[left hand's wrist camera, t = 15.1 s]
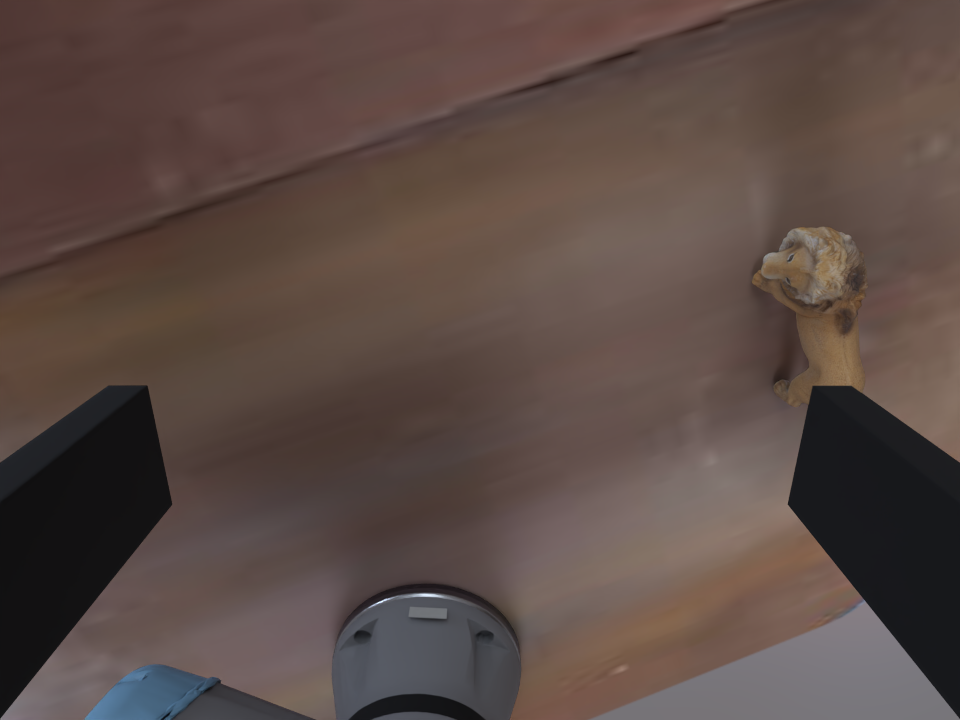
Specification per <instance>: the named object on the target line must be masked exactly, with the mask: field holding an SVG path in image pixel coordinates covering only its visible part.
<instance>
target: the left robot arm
mask: <svg viewBox="0 0 960 720" xmlns="http://www.w3.org/2000/svg"><path fill="white" fill-rule="evenodd" d="M171 505H172V501H171V496H170V491H169V486H168V482H167V477H166V472H165V467H164V462H163V458H162V453H161V448H160V443H159V439H158V434H157V429H156V424H155V419H154V415H153V410H152V405H151V400H150V395H149V391H148V386H107V387H106V388H105V389H103V390H102V391H100V392H99V393H98V394H96V395H95V396H93V397H92V398H91V399H89V400H88V401H86V402H85V403H84V404H82V405H81V406H79V407H78V408H76V409H75V410H74V411H72V412H71V413H69V414H68V415H67V416H65V417H64V418H62V419H61V420H60V421H58V422H57V423H55V424H54V425H53V426H51V427H50V428H48V429H47V430H46V431H44V432H43V433H41V434H40V435H39V436H37V437H36V438H34V439H33V440H32V441H30V442H29V443H27V444H26V445H25V446H23V447H22V448H20V449H19V450H17V451H16V452H15V453H13V454H12V455H10V456H9V457H8V458H6V459H5V460H3V461H2V462H1V463H0V718H1V717H2V716H3V715H4V713H5V712H6V711H7V710H8V708H9V707H10V706H11V705H12V703H13V702H14V701H15V700H16V698H17V697H18V696H19V695H20V693H21V692H22V691H23V690H24V688H25V687H26V686H27V685H28V683H29V682H30V681H31V680H32V678H33V677H34V676H35V675H36V673H37V672H38V671H39V670H40V668H41V667H42V666H43V665H44V663H45V662H46V661H47V660H48V658H49V657H50V656H51V655H52V653H53V652H54V651H55V650H56V649H57V647H58V646H59V645H60V644H61V642H62V641H63V640H64V639H65V637H66V636H67V635H68V634H69V632H70V631H71V630H72V629H73V627H74V626H75V625H76V624H77V622H78V621H79V620H80V619H81V617H82V616H83V615H84V614H85V612H86V611H87V610H88V609H89V607H90V606H91V605H92V604H93V602H94V601H95V600H96V599H97V597H98V596H99V595H100V594H101V592H102V591H103V590H104V589H105V588H106V586H107V585H108V584H109V583H110V581H111V580H112V579H113V578H114V576H115V575H116V574H117V573H118V571H119V570H120V569H121V568H122V566H123V565H124V564H125V563H126V561H127V560H128V559H129V558H130V556H131V555H132V554H133V553H134V551H135V550H136V549H137V548H138V546H139V545H140V544H141V543H142V541H143V540H144V539H145V538H146V536H147V535H148V534H149V533H150V531H151V530H152V529H153V528H154V526H155V525H156V524H157V523H158V522H159V520H160V519H161V518H162V517H163V515H164V514H165V513H166V512H167V510H168V509H169V508H170V507H171ZM788 505H789V507H790V508H791V509H792V510H793V512H794V513H795V514H796V515H797V517H798V518H799V519H800V520H801V522H802V523H803V524H804V525H805V526H806V528H807V529H808V530H809V531H810V533H811V534H812V535H813V536H814V538H815V539H816V540H817V541H818V543H819V544H820V545H821V546H822V548H823V549H824V550H825V551H826V553H827V554H828V555H829V556H830V558H831V559H832V560H833V561H834V563H835V564H836V565H837V566H838V568H839V569H840V570H841V571H842V573H843V574H844V575H845V576H846V578H847V579H848V580H849V581H850V583H851V584H852V585H853V586H854V588H855V589H856V590H857V591H858V592H859V594H860V595H861V596H862V597H863V599H864V600H865V601H866V602H867V604H868V605H869V606H870V607H871V609H872V610H873V611H874V612H875V614H876V615H877V616H878V617H879V619H880V620H881V621H882V622H883V624H884V625H885V626H886V627H887V629H888V630H889V631H890V632H891V634H892V635H893V636H894V637H895V638H896V640H897V641H898V642H899V643H900V645H901V646H902V647H903V648H904V650H905V651H906V652H907V653H908V655H909V656H910V657H911V658H912V660H913V661H914V662H915V663H916V665H917V666H918V667H919V668H920V670H921V671H922V672H923V673H924V675H925V676H926V677H927V678H928V680H929V681H930V682H931V683H932V685H933V686H934V687H935V688H936V690H937V691H938V692H939V693H940V695H941V696H942V697H943V698H944V700H945V701H946V702H947V703H948V705H949V706H950V707H951V708H952V709H953V711H954V712H955V713H956V714H957V716H958V717H959V718H960V463H959V462H958V461H957V460H955V459H954V458H952V457H951V456H950V455H948V454H947V453H945V452H944V451H943V450H941V449H940V448H938V447H937V446H935V445H934V444H933V443H931V442H930V441H928V440H927V439H926V438H924V437H923V436H921V435H920V434H919V433H917V432H916V431H914V430H913V429H912V428H910V427H909V426H907V425H906V424H905V423H903V422H902V421H900V420H899V419H898V418H896V417H895V416H893V415H892V414H891V413H889V412H888V411H886V410H885V409H884V408H882V407H881V406H879V405H878V404H876V403H875V402H874V401H872V400H871V399H869V398H868V397H867V396H865V395H864V394H862V393H861V392H860V391H858V390H857V389H855V388H854V387H853V386H812V391H811V395H810V400H809V405H808V410H807V415H806V419H805V424H804V429H803V434H802V439H801V443H800V448H799V453H798V458H797V462H796V467H795V472H794V477H793V482H792V486H791V491H790V496H789V501H788ZM520 677H521V660H520V649H519V643H518V640H517V637H516V634H515V632H514V630H513V628H512V627H511V625H510V623H509V622H508V621H507V619H506V618H505V617H504V616H503V615H502V614H501V613H500V612H499V611H498V610H497V609H496V608H495V607H494V606H492V605H491V604H490V603H488V602H487V601H485V600H484V599H482V598H480V597H478V596H476V595H474V594H472V593H470V592H467V591H464V590H461V589H458V588H454V587H450V586H445V585H437V584H414V585H406V586H401V587H396V588H393V589H390V590H387V591H384V592H382V593H379V594H377V595H375V596H373V597H371V598H370V599H368V600H367V601H365V602H364V603H362V604H361V605H360V606H358V607H357V608H356V609H355V610H354V611H353V612H352V613H351V615H350V616H349V617H348V618H347V620H346V621H345V623H344V624H343V626H342V628H341V630H340V633H339V636H338V639H337V642H336V646H335V650H334V654H333V662H332V683H333V692H334V701H335V710H336V719H337V720H510V716H511V713H512V710H513V707H514V704H515V700H516V697H517V694H518V690H519V685H520ZM84 720H315V719H312V718H309V717H307V716H304V715H302V714H299V713H296V712H294V711H291V710H289V709H286V708H283V707H281V706H278V705H275V704H273V703H270V702H268V701H265V700H262V699H260V698H257V697H255V696H252V695H249V694H247V693H244V692H241V691H239V690H236V689H234V688H231V687H228V686H226V685H223V684H221V680H220V679H218V678H216V677H211V678H208V679H207V678H204V677H201V676H198V675H195V674H191V673H188V672H185V671H182V670H179V669H175V668H172V667H169V666H166V665H160V664H153V665H147V666H144V667H141V668H139V669H137V670H135V671H133V672H131V673H130V674H128V675H127V676H125V677H124V678H122V679H121V680H120V681H119V682H118V683H117V684H116V685H115V686H114V687H113V688H112V689H111V690H110V691H109V692H108V693H107V694H106V695H105V696H104V697H103V698H102V699H101V700H100V702H99V703H98V704H97V705H96V706H95V707H94V708H93V710H92V711H91V712H90V713H89V714H88V715H87V717H86V718H85V719H84Z"/></svg>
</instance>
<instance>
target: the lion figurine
mask: <svg viewBox="0 0 960 720" xmlns="http://www.w3.org/2000/svg"><path fill="white" fill-rule="evenodd" d="M866 276H867V270H866V266H865V261H864V255H863V253H862V252H860V251H859V249H858V248H857V247H856V244H855V242H854V241H853V240H852V238H851V236H850V235H845V234H844V233H843V232H838V231H836V230H834V229H832V228H830V227H819V228H811V227H810V228H804V227H799V228H796V229H793V230H791V231H790V232H789V233H788V234H787V237H786V238H784V239H783V242H782V244H781V246H780V248H779V251H776V252H773V253H769V254H767V255H766V256H765V257H764V259H763V265H762V267H761V270H759V271H758V272H757V273H756V274H755V275H754V277H753V280H752V283H753V284H754V285H755V286H757V287H758V288H760V289H761V290H763V291H765V292H768V293H771V294H772V295H773V296H774V297H775V298H776V299H777V300H778V301H779V302H781V303H783V304H784V305H785V306H787V307H789V308H790V309H792V310H793V311H795V312H796V320H797V328H798V332H799V338H800V342H801V345H802V348H803V350H804V353H805V355H806V356H807V358H808V361H809V368H808V369H807V370H806V371H804V372H803V373H801V374H799V375H798V376H796V377H795V378H794V379H793V380H792V382H791V383H790V382H789V381H787V380H783V379H782V380H780V381H778V382H776V383H775V385H774V388H773V389H774V392H775V393H776V395H777V396H779V397H780V398H781V399H782V400H784V401H785V402H787V403H788V404H789V405H791V406H794V407H798V406H800V405H801V403H806V404H808V405H809V400H810V395H811V391H812V386H853V387H854V388H855V389H857V390H858V391H860V392H861V393H862V392H863V388H864V385H865V373H864V370H863V367H862V363H861V359H860V351H859V329H858V318H857V315H858V312H857V310H858V309H859V308H860V307H861V306H862V304H861V300H862V299H864V298H865V296H866V294H865V289H866V288H867V287H868V284H867V278H866Z"/></svg>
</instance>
